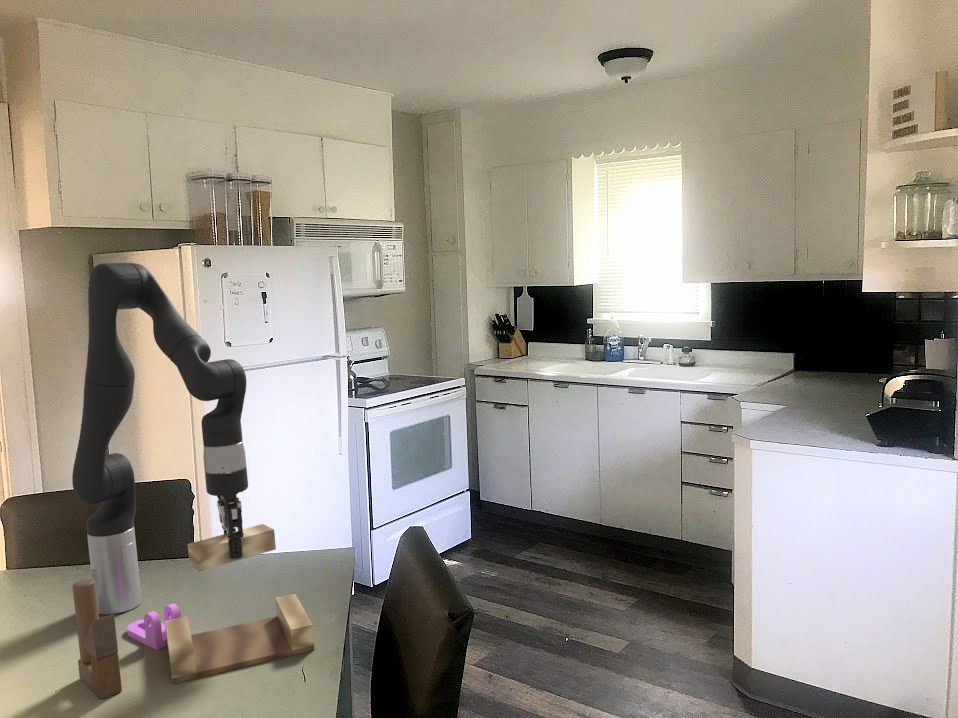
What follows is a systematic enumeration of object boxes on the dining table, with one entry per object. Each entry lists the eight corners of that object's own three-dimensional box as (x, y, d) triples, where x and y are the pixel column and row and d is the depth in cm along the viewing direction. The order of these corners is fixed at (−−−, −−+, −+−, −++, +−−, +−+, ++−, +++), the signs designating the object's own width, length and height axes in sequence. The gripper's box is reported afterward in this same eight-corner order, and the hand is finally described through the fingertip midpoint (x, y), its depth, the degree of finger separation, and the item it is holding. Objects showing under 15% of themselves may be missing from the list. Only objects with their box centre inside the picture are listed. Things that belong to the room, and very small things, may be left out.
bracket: (183, 639, 156) (179, 605, 155) (156, 650, 152) (153, 616, 151) (148, 622, 164) (145, 590, 163) (122, 633, 160) (119, 600, 159)
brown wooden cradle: (172, 684, 139) (170, 657, 138) (167, 645, 153) (164, 620, 153) (314, 649, 149) (312, 624, 148) (296, 616, 164) (295, 593, 163)
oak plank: (199, 571, 144) (197, 550, 144) (189, 564, 148) (187, 544, 148) (275, 549, 154) (274, 529, 153) (264, 543, 158) (262, 523, 157)
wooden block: (101, 700, 135) (90, 599, 132) (79, 678, 142) (68, 582, 140) (123, 691, 137) (112, 592, 135) (100, 670, 145) (90, 576, 143)
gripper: (200, 462, 154) (208, 545, 156) (209, 478, 141) (218, 569, 143) (240, 456, 157) (247, 538, 159) (252, 471, 144) (260, 560, 146)
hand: (233, 552), depth 151 cm, fingers closed on oak plank, 5 cm apart
